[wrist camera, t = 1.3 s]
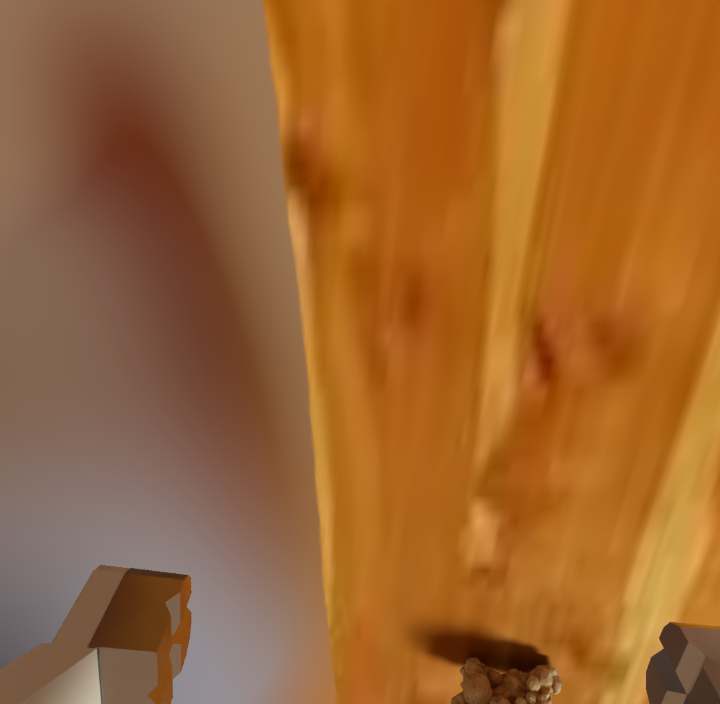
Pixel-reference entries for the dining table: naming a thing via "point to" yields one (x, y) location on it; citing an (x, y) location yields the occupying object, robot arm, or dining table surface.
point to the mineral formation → (506, 685)
